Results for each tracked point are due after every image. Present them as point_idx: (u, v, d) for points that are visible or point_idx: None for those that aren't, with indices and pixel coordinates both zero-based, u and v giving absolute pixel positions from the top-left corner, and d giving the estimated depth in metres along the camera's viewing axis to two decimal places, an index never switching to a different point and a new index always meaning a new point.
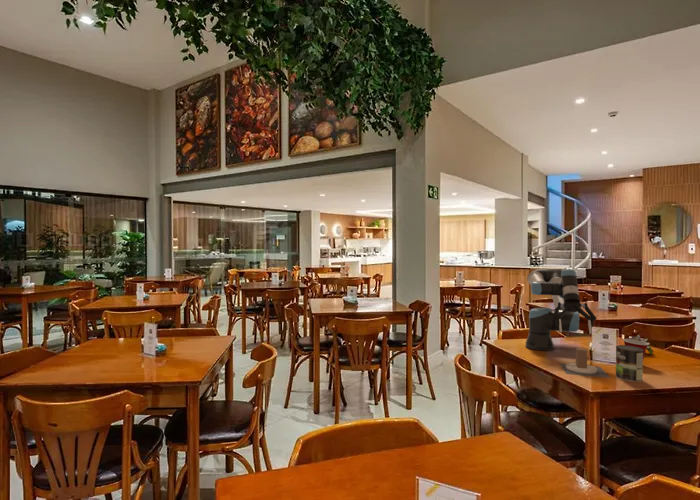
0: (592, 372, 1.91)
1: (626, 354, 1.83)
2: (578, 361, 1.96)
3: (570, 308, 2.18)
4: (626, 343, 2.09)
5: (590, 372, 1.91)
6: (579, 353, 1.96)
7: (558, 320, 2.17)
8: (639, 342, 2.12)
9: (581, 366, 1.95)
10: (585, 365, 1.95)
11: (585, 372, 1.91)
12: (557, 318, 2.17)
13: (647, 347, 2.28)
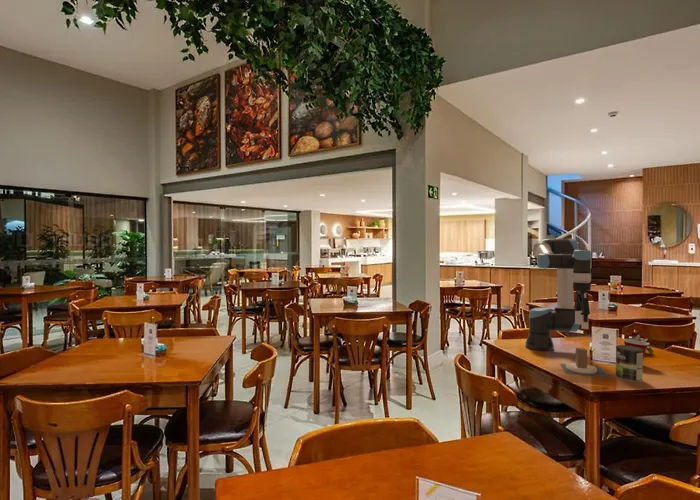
0: (592, 372, 1.91)
1: (626, 354, 1.83)
2: (578, 361, 1.96)
3: (578, 299, 1.99)
4: (626, 343, 2.09)
5: (590, 372, 1.91)
6: (579, 353, 1.96)
7: None
8: (639, 342, 2.12)
9: (581, 366, 1.95)
10: (585, 365, 1.95)
11: (585, 372, 1.91)
12: (575, 309, 2.05)
13: (647, 347, 2.28)
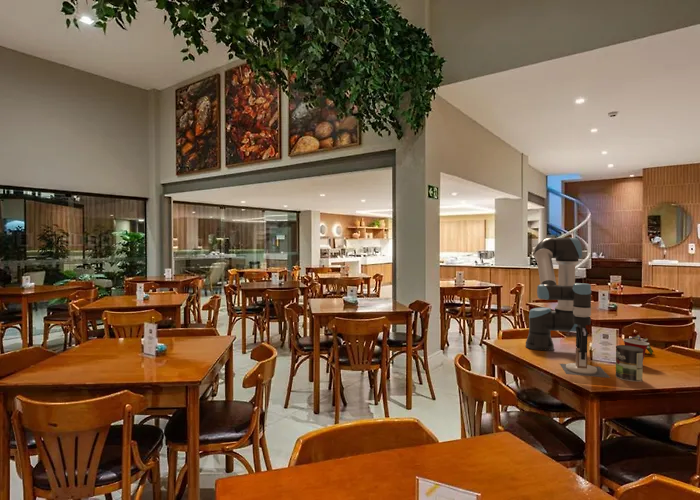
0: (592, 372, 1.91)
1: (626, 354, 1.83)
2: (578, 361, 1.96)
3: (578, 332, 1.99)
4: (626, 343, 2.09)
5: (590, 372, 1.91)
6: None
7: None
8: (639, 342, 2.12)
9: (581, 366, 1.95)
10: None
11: (585, 372, 1.91)
12: None
13: (647, 347, 2.28)
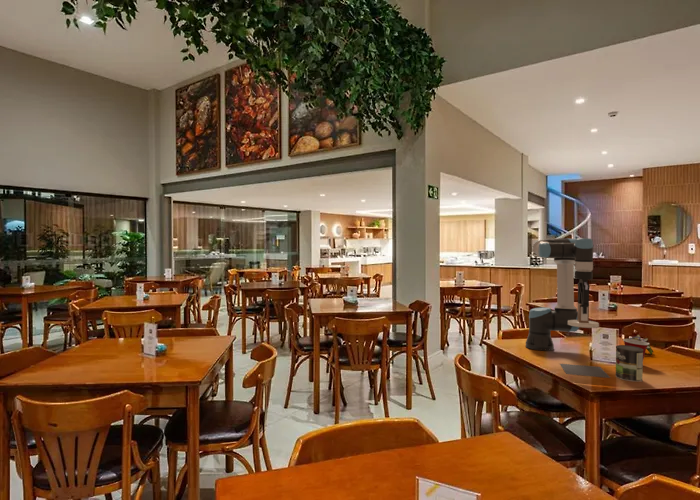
0: (594, 325, 1.90)
1: (626, 354, 1.83)
2: (580, 316, 1.95)
3: (580, 287, 1.98)
4: (626, 343, 2.09)
5: (592, 326, 1.90)
6: None
7: None
8: (639, 342, 2.12)
9: (583, 321, 1.95)
10: None
11: (587, 326, 1.90)
12: None
13: (647, 347, 2.28)
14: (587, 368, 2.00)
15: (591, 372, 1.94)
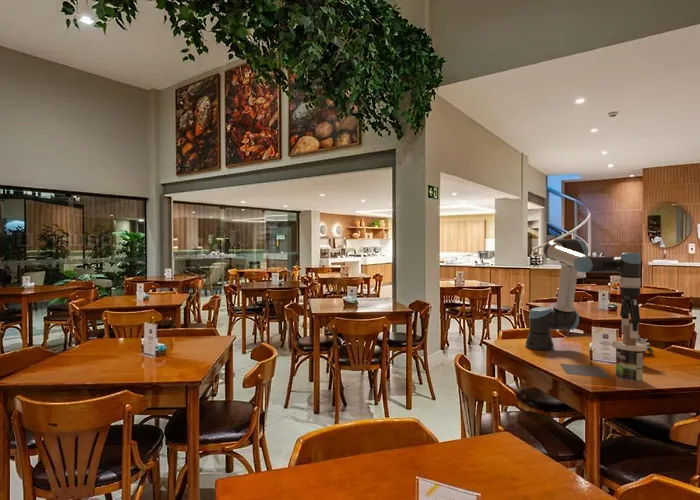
0: (642, 349, 1.80)
1: (626, 354, 1.83)
2: (626, 338, 1.85)
3: (626, 304, 1.87)
4: None
5: (640, 349, 1.80)
6: (627, 329, 1.84)
7: None
8: (639, 342, 2.12)
9: (629, 343, 1.84)
10: (634, 342, 1.84)
11: (635, 349, 1.80)
12: (621, 317, 1.93)
13: (647, 347, 2.28)
14: (587, 368, 2.00)
15: (591, 372, 1.94)
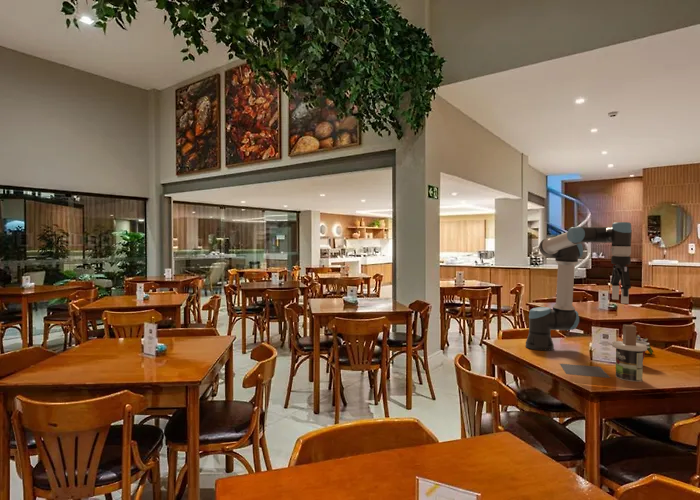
0: (642, 349, 1.80)
1: (626, 354, 1.83)
2: (626, 338, 1.85)
3: (617, 273, 1.92)
4: None
5: (640, 349, 1.80)
6: (627, 329, 1.84)
7: None
8: (639, 342, 2.12)
9: (630, 343, 1.84)
10: (634, 342, 1.84)
11: (635, 349, 1.80)
12: (612, 284, 1.99)
13: (647, 347, 2.28)
14: (587, 368, 2.00)
15: (591, 372, 1.94)
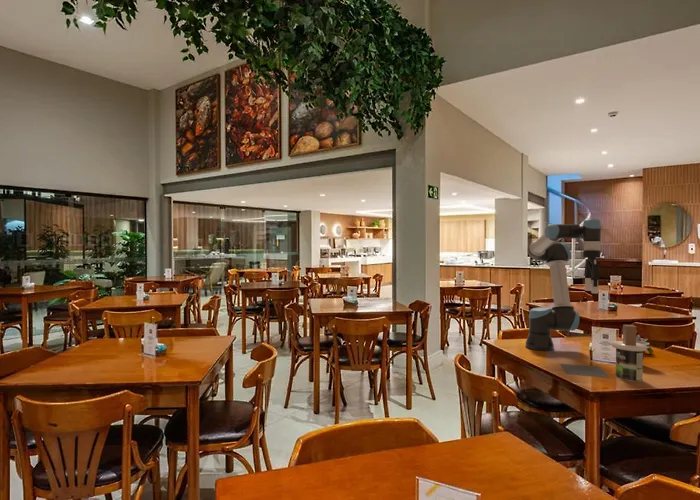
0: (642, 349, 1.80)
1: (626, 354, 1.83)
2: (626, 338, 1.85)
3: (588, 266, 2.10)
4: None
5: (640, 349, 1.80)
6: (627, 329, 1.84)
7: None
8: (639, 342, 2.12)
9: (629, 343, 1.84)
10: (634, 342, 1.84)
11: (635, 349, 1.80)
12: (585, 277, 2.16)
13: (647, 347, 2.28)
14: (587, 368, 2.00)
15: (591, 372, 1.94)
